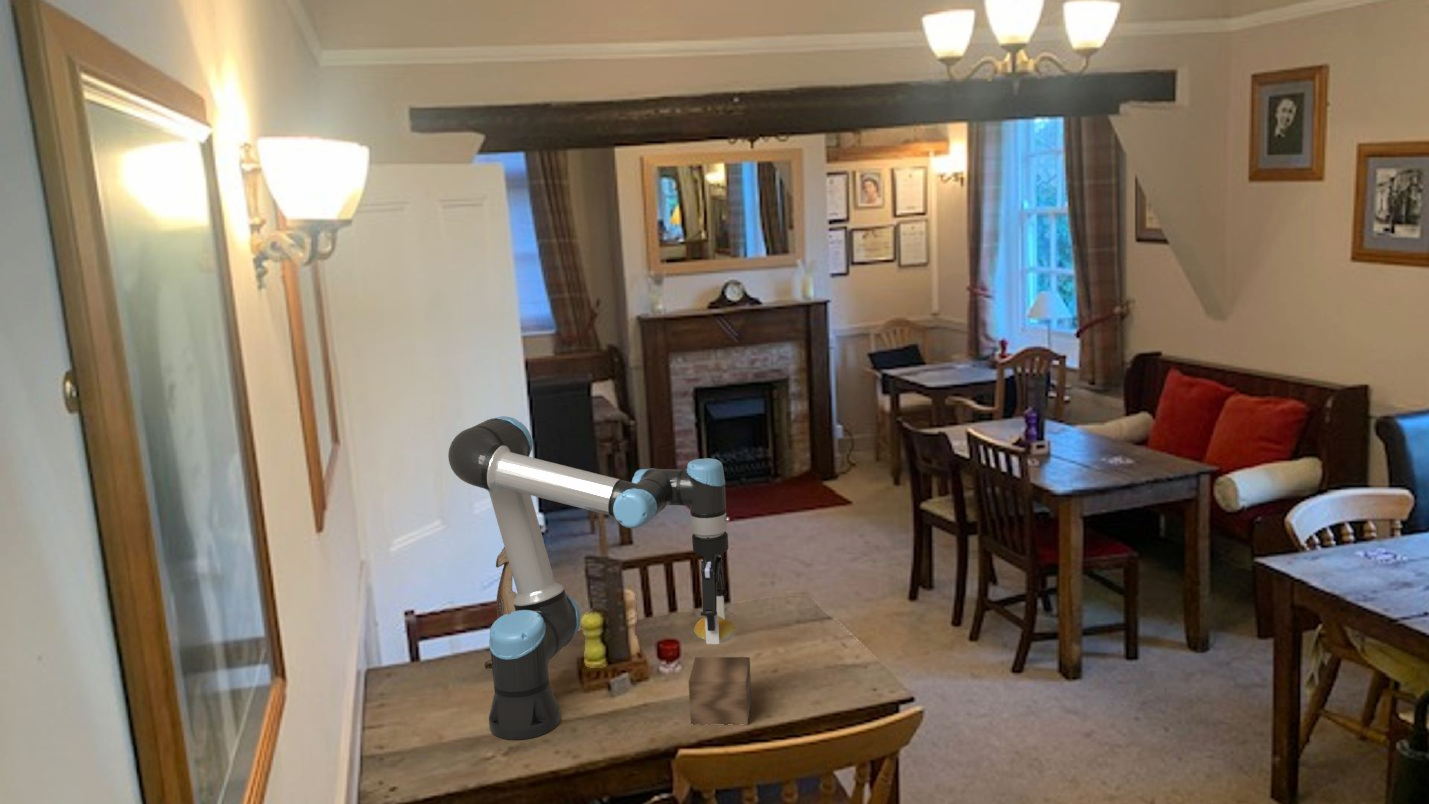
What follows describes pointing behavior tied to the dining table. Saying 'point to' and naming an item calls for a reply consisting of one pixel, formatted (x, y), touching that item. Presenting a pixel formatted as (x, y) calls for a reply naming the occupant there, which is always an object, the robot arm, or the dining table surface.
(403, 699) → the dining table surface
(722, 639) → the bread roll
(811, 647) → the dining table surface
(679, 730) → the dining table surface
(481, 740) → the dining table surface
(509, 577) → the bird sculpture
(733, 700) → the walnut block
